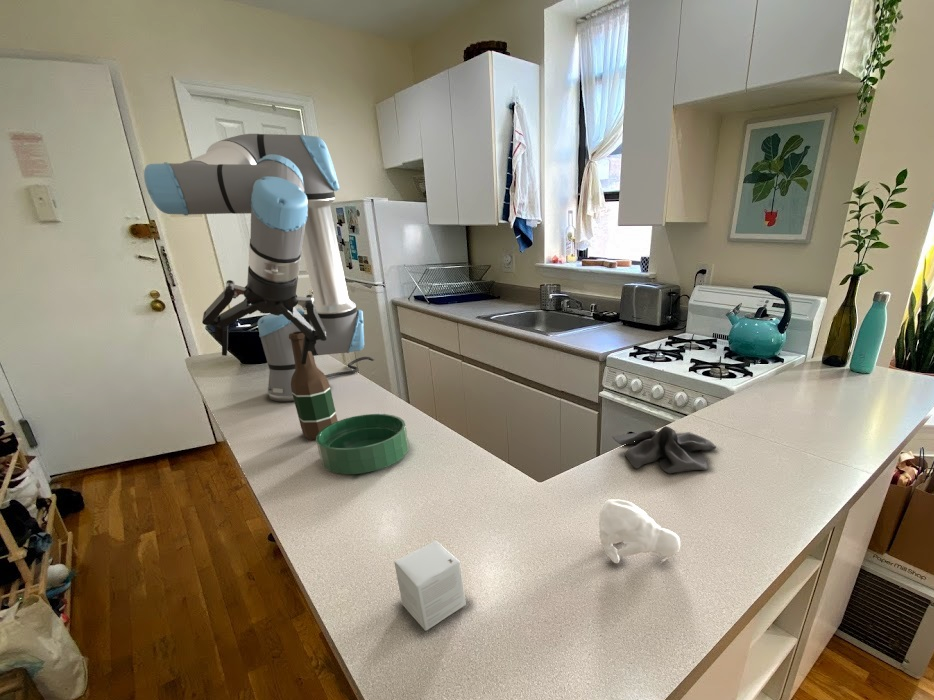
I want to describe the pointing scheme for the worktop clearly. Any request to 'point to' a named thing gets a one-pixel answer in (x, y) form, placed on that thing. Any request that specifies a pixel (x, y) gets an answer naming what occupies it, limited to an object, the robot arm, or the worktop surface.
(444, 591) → the product box
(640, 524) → the white irregular figure
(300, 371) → the beer bottle
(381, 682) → the worktop surface
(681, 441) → the cloth
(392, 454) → the green bowl
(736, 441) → the worktop surface
